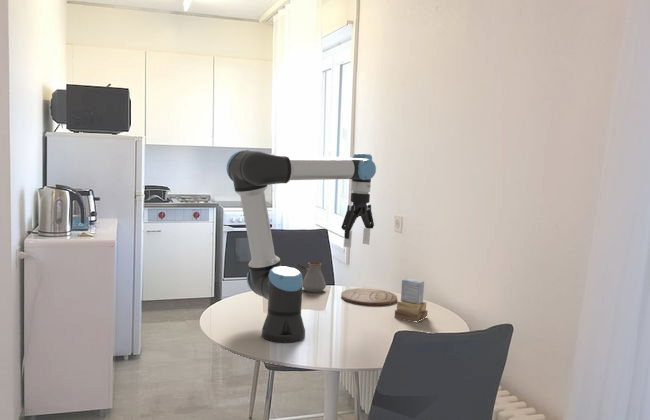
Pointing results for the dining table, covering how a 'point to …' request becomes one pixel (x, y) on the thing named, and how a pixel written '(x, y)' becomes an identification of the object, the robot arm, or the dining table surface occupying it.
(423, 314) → the walnut slab
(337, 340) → the dining table surface
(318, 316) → the dining table surface
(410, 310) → the oak slab
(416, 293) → the medicine box
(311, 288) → the coffee pot
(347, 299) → the trivet
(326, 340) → the dining table surface
